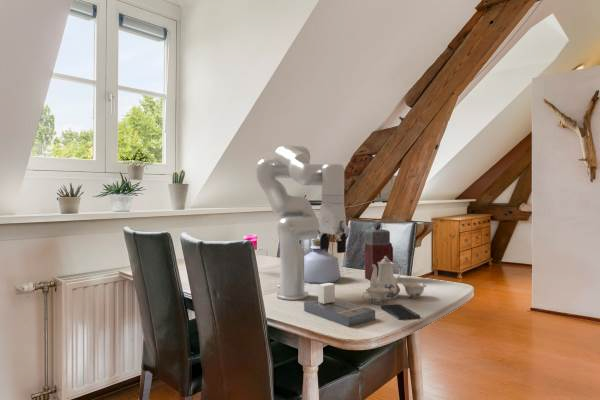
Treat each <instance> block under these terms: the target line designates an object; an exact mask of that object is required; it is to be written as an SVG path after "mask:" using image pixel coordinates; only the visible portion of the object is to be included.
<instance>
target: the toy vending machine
mask: <svg viewBox="0 0 600 400" xmlns="http://www.w3.org/2000/svg"><path fill="white" fill-rule="evenodd" d="M381 222H382V221H381V220H379V219H376V220H375V219H374V220H373V222H372V225H373V229H369V228H368V229H365V230H364V279H365V278H366V280H367V279H368V280H367V281H369V280H370V281H371V277H372V274H373V269H374V268H373V266H372V264H375V265H376V267H377V277H378V272H379V266H378V263H377V262H381V260H382V259H384V257H385V256H387V259H389V260H390V262H394V247H393V244H392V242H391V237H390V236H391V232H390V230H387V229H381V227H382V223H381ZM370 281H369V282H370Z"/></svg>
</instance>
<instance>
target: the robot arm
mask: <svg viewBox="0 0 600 400" xmlns="http://www.w3.org/2000/svg"><path fill="white" fill-rule="evenodd" d="M310 160H311V153H310V150H309V149H308V148H307V147H305V146H302V145H290V144H285V145H279V147H278V148H276V150H275V152H274V157H269V158H268V157H267V158H262V159H260V160H259V161H258V162H257V164H256V167H255V168H256V169H255V174H256V179H257V182H258V184H259V186H260V187H261V189H262V191H263V192H264V194H265V195H266V197H267V200H268V203H269V205H270V207H271V210H272V212H273V214H274V215H275V218H277V219H279V221H278V222H277V227H276V229H277V234H278V235H277V237H278V241H279V259H280V260H279V261H280V262H279V266H280V268H279V270H280V271H279V272H280V273H279V276H280V280H279V281H280V282H279V284H277V285H276V287H277V288H278V289H279V291H277V293H276V298H278V299H281V300H285V301H286V300H287V301H288V300H289V301H290V300H291V301H296V300H304V299H306V298H308V297H309V292H308V291H306V290H305V282H304V256H305V251H304V248H303V246H302V245H301V243H300V241H304V240H305V241H306V240H307V241H308V240H314V239H317V237H318V238H319V239H320V249H325V250H326V249H329V235H331V236H333V235H335V236H336V238H337V241H336V253H337V254H341V253H346V252H347V251H346V250H347V249H346V248H347V244H346V242H347V240H348V237H349V234H350V231H351V228H350V226H348V225H347V219H346V208H345V167H344V165H343V164H340V163H327V164H320V163H311V161H310ZM278 179H292V180H293V181H295V182H296V183H298V184H299V185H303V186H321V204H320V208H319V214H318V216H317V215H316V213H315V210H314V209H313V207H312V204H311V203H310V200H309V199H307V198H306V197H305V196H302V195H290V194H289V193H288V192H287V189H286V186H284V185H283V183H281V182H280V181H279V180H278Z"/></svg>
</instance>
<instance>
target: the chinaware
mask: <svg viewBox="0 0 600 400" xmlns="http://www.w3.org/2000/svg"><path fill="white" fill-rule="evenodd" d="M377 263H378V266H379V272H378V277H377V267H376V265H375V264H372V266H373V268H374V269H373V274H372V277H371V281H369V283H370V285H369V287H368V288H366V289H365V291H364V292H363V293H362V298H363V300H365V301H368V300H369V303H373V304H374V305H383V302H384V301H385V300H394V299H393V298H395V299H396V297H397V296H398V295H399V293H401V288H400V286H399V285H398V284H399V279H400V277H401V275H402V267H401V265H400V264H398V263H395V262H394V261H393V262H390V260H389V259H387V256H385V257H384V259H382V260H381V262H377ZM395 266H397V267H398V270H399V271H398V274H397V276H396V277H395V275H394V269H395ZM402 286H403V288H404V290H405V292H406V294H407V295H408V296H410V297H411V296H412V298H411V299H413V298H416V299H418V298H417V297H420V296H422V295H423V293H424V290H425V288H426V287H427V285H426V284H424V282H423V283H422V282H416V283H415V282H413V281H408V282H406V283H405V282H403V283H402ZM364 294H368V296H369V298H368V299H366V298H365V296H364Z"/></svg>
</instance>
